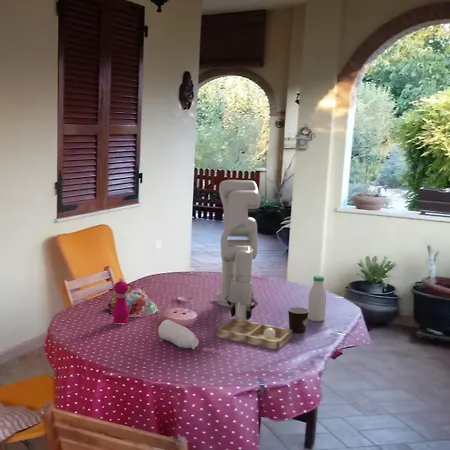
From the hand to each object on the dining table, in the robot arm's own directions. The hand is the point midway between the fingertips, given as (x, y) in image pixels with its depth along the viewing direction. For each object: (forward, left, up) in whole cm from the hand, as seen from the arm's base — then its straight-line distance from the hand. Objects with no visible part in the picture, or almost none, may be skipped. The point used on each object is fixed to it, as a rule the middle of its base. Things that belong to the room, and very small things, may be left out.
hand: (240, 317), depth 258 cm
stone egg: (+19, -13, -2) cm, 23 cm away
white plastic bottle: (-11, -34, -3) cm, 36 cm away
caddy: (+12, -13, -3) cm, 18 cm away
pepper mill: (-45, -26, -3) cm, 52 cm away
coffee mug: (+26, +4, -3) cm, 27 cm away
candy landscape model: (-51, -7, -4) cm, 52 cm away
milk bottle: (+27, +24, -3) cm, 36 cm away
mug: (0, 0, -3) cm, 3 cm away
